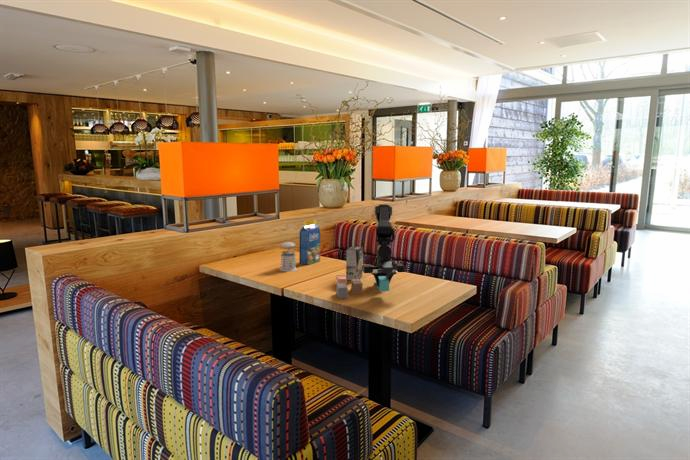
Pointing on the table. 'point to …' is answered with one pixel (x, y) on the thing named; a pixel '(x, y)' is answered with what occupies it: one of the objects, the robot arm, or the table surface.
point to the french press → (288, 257)
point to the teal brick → (383, 283)
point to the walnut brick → (356, 286)
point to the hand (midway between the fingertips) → (382, 286)
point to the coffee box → (354, 263)
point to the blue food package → (309, 243)
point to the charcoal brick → (341, 290)
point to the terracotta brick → (341, 279)
